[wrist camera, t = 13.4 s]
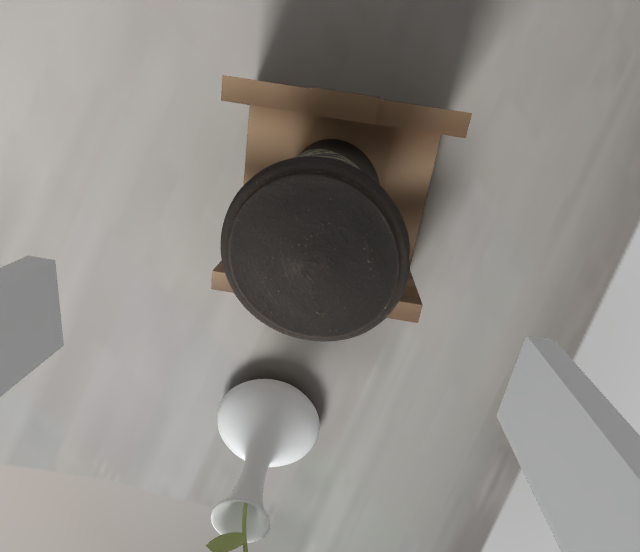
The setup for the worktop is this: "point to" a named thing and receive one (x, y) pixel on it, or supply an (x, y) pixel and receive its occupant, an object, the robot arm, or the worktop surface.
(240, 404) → the flower in vase
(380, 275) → the container
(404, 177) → the holder
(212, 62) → the worktop surface
